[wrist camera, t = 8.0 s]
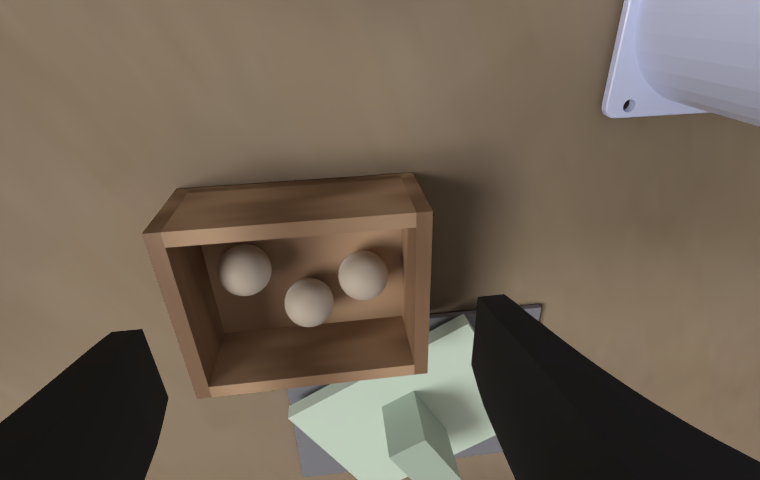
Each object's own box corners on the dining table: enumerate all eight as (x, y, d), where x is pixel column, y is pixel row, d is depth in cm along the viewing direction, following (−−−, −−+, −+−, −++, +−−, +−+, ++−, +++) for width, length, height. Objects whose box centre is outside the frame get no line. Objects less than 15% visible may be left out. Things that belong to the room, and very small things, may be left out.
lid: (460, 306, 23) (488, 368, 19) (520, 399, 27) (553, 466, 23) (289, 397, 24) (283, 471, 20) (370, 471, 28) (378, 545, 25)
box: (412, 172, 19) (433, 211, 16) (411, 316, 23) (427, 373, 19) (176, 189, 18) (141, 234, 15) (216, 335, 22) (197, 398, 19)
